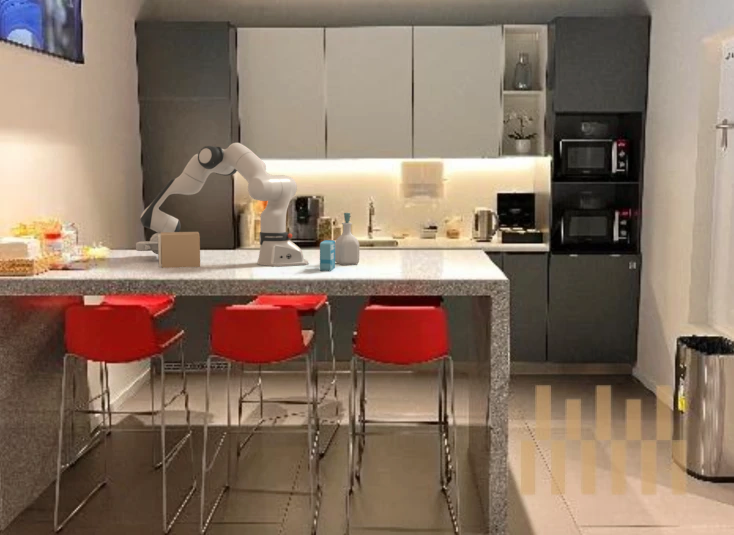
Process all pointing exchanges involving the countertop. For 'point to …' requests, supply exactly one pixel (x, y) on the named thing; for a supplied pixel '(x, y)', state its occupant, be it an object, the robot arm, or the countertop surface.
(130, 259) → the countertop surface
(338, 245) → the soap bottle
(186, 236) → the carton
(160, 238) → the inner tray
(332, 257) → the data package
